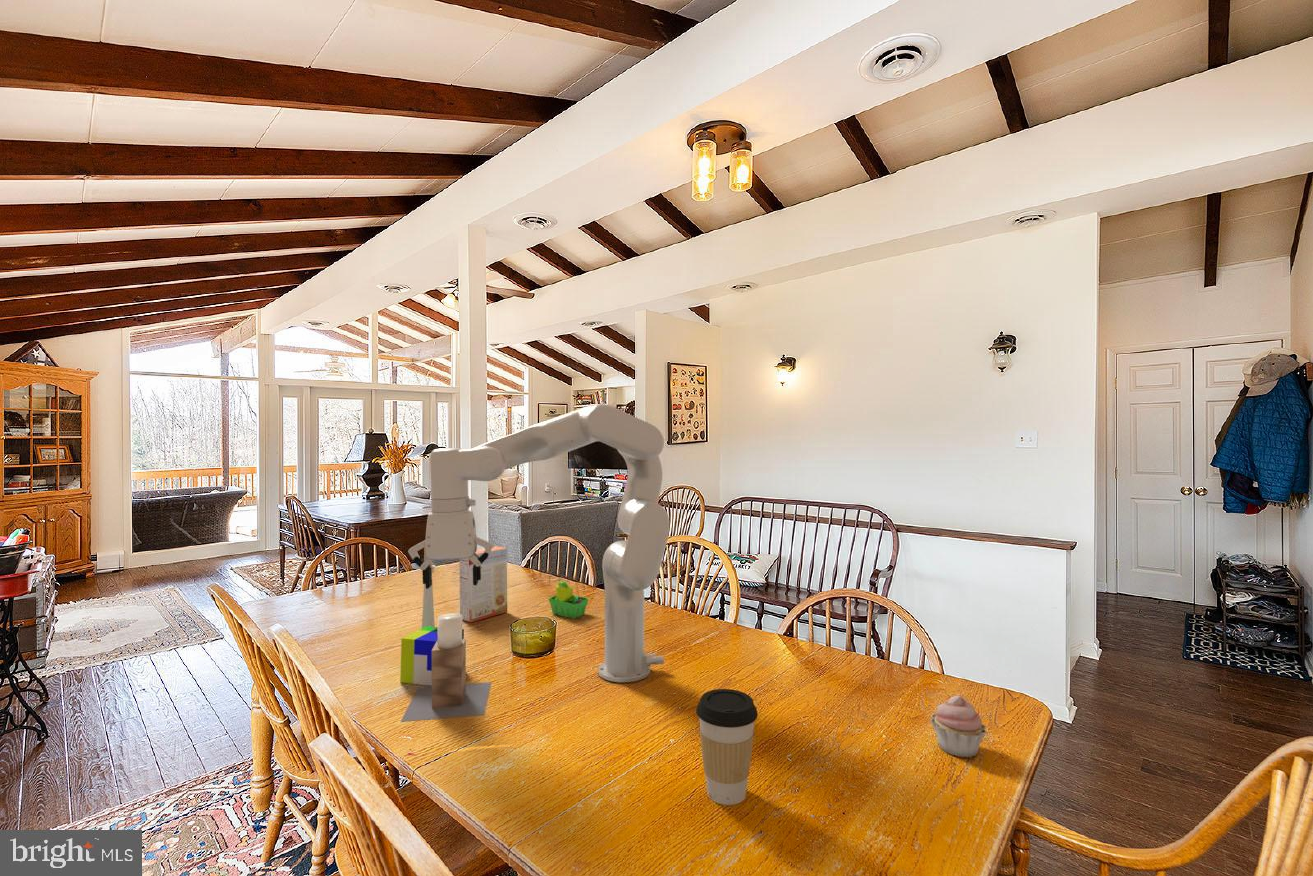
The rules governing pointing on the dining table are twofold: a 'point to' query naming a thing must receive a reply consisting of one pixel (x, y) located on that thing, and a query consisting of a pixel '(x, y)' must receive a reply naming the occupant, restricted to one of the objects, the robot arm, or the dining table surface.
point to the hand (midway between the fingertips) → (452, 585)
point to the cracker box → (484, 586)
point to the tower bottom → (448, 691)
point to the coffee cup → (726, 743)
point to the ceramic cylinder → (449, 631)
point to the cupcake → (958, 727)
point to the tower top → (448, 661)
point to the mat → (470, 707)
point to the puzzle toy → (418, 656)
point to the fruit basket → (567, 602)
